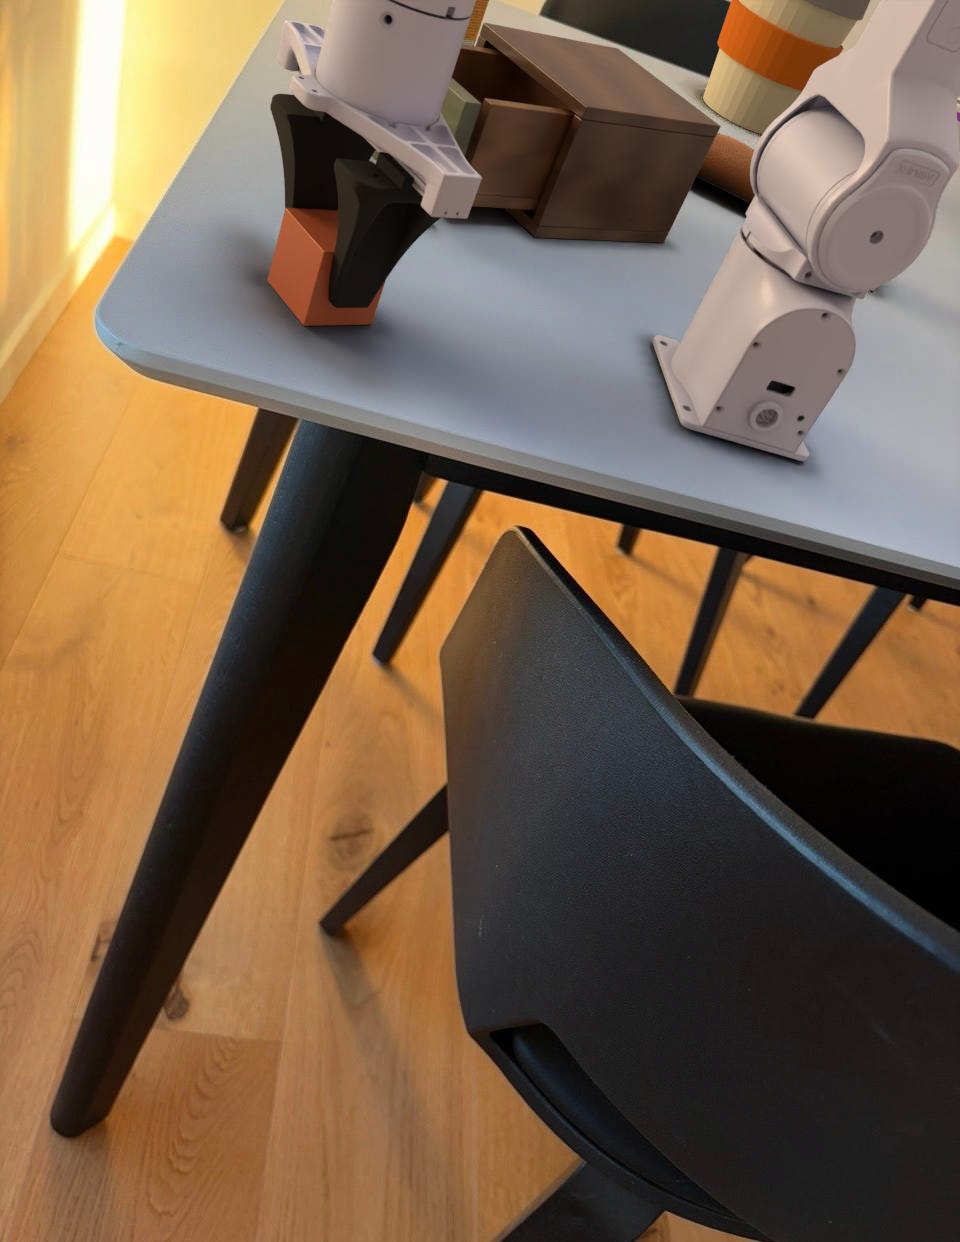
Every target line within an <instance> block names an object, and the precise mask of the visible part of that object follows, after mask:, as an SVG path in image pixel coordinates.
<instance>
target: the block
mask: <svg viewBox="0 0 960 1242" xmlns="http://www.w3.org/2000/svg"><path fill="white" fill-rule="evenodd" d="M337 230H338V210H319V209H301V208H285V207H284V212H283V215H282V219H281V223H280V228H279V232H278V236H277V240H276V243H275V248H274V251H273V252H274V253H273V256H272V261H271V265H270V268H269V272H268V276H267V283H268V285H270V286H271V288H272V289H273V290H274V291H275V292H276V293H277V295H278V296H279V297H280V299H282V301H283V302H284V303H285V305H287V307H288V308H289V310H290V311H291V312H292V313H293V315H294V316H295V317H296V318H297V319H298V320H299V322H300V323H301V324H302V325H303V326H304V327H307V326H308V327H313V326H314V327H316V326H319V327H320V326H356V325H357V326H363V325H364V326H365V325H367V326H368V325H372V324H373V322H374V318H375V315H376V312H377V309H378V306H379V302H380V300H381V297H382V294H383V291H384V287H385V284H386V281H387V279H386V280H385V282H384V283H383V285H382V286H381V288H380V290H379V291H378V293H377V294H376V296H375V297H374V299H373V300H372V302H371V304H370V305H369V307H368V308H336V307H334V306H333V305H332V304H331V303H330V301H329V291H328V290H329V278H330V270H331V265H332V260H333V255H334V251H335V246H336V240H337Z"/></svg>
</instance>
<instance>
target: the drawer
mask: <svg viewBox="0 0 960 1242" xmlns="http://www.w3.org/2000/svg"><path fill="white" fill-rule="evenodd" d="M441 113H442V115H443V117H444V119H445V121H446V123H447V125H448V127H449V129H450V130H451V132H452V134H453V136H454V138H455V140H456V142H457V144H458V146H459V148H460V150H461V151H462V153H463V155H464V157H465V158H466V160H467V161H468V163H469V164H470V165H471V166H472V168H473V169H474V170H475V171H476V172H477V173H478V174H479V175H480V176H481V177H482V179H481V182H480V185H479V188H478V190H477V193H476V196H475V199H474V202H473V204H472V207H478V208H479V207H480V208H481V207H482V208H495V209H497V208H498V209H504V208H511V209H526V210H537V208H538V205H539V203H540V200H541V198H542V195H543V193H544V190H545V188H546V185H547V183H548V180H549V178H550V175H551V173H552V170H553V168H554V165H555V163H556V160H557V158H558V155H559V153H560V150H561V148H562V145H563V143H564V140H565V138H566V135H567V133H568V130H569V128H570V125H571V123H572V120H573V118H574V115H575V113H574V112H573V111H571V110H570V109H569V108H568V107H567V106H565V105H564V104H563V103H562V102H561V101H559V100H558V99H557V98H556V97H555V96H553V95H552V94H551V93H550V92H549V91H547V90H546V89H545V88H544V87H542V86H541V85H540V84H539V83H538V82H536V81H535V80H534V79H533V78H532V77H530V76H529V75H528V74H527V73H526V72H524V71H523V70H522V69H521V68H519V67H518V66H517V65H516V64H515V63H513V62H512V61H511V60H510V59H509V58H507V57H506V56H505V55H504V54H503V53H501V52H500V51H499V50H493V49H488V48H482V47H477V46H476V45H474V46H471V45H465V44H462V46H461V49H460V53H459V56H458V59H457V62H456V65H455V68H454V71H453V74H452V77H451V81H450V84H449V87H448V90H447V93H446V96H445V99H444V102H443V106H442V109H441ZM378 154H379V152H378V151H377V150H375V152H374V153H373V155H372V157H371V158H372V159H374V161H377V158H378Z"/></svg>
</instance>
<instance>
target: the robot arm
mask: <svg viewBox="0 0 960 1242" xmlns="http://www.w3.org/2000/svg"><path fill="white" fill-rule="evenodd" d="M475 2H476V0H332V3H331V6H330V11H329V13H328V17H327V22H326V27H325V28H324V27H322V25H318V24H313V23H307V22H301V21H297V20H296V21H295V20H290V19H285V20H284V23H283V28H282V32H281V37H280V41H279V46H278V50H277V56H276V62H277V63H278V64H280V66H281V67H282V68H283V69H285V70H286V71H290V72H298V73H294V74H293V75H292V76H291V81H290V84H289V91H290V93H291V94H289V93H275V94H274V95H272V98H271V102H270V106H269V107H270V112H271V115H272V119H273V122H274V125H275V129H276V133H277V137H278V142H279V148H280V153H281V154H280V155H281V160H282V170H283V183H284V209H285V208H301V209H319V210H338V230H337V240H336V246H335V251H334V255H333V260H332V265H331V270H330V278H329V290H328V291H329V301H330V303H331V304H332V305H333V306H334V307H336V308H368V307H369V305H370V304H371V302H372V300H373V299H374V297H375V296H376V294H377V293H378V291H379V290H380V288H381V286H382V285H383V283H384V282H385V283H386V281H387V279H388V277H389V276H390V274H391V273H392V271H393V270H394V268H395V267H396V266H397V264H398V263H399V261H400V260H401V259H402V258H403V256H404V255H405V254H406V252H407V251H408V250H409V249H410V248H411V247H412V246H413V244H414V243H416V241H417V240H418V239H419V238H420V237H421V236H422V235H423V234H424V233H425V232H426V231H427V230H428V229H430V228H431V227H432V226H433V225H434V224H435V223H437V222H438V221H439V220H440V219H441V218H444V219H463V220H465V219H468V218H469V215H470V213H471V210H472V207H473V206H472V204H473V202H474V199H475V196H476V193H477V190H478V188H479V185H480V182H481V179H482V177H481V176H480V175H479V174H478V173H477V172H476V171H475V170H474V169H473V168H472V166H471V165H470V164H469V163H468V161H467V160H466V158H465V157H464V155H463V153H462V151H461V150H460V148H459V146H458V144H457V142H456V140H455V138H454V136H453V134H452V132H451V130H450V129H449V127H448V125H447V123H446V121H445V119H444V117H443V115H442V113H441V109H442V106H443V102H444V99H445V96H446V93H447V90H448V87H449V84H450V81H451V77H452V74H453V71H454V68H455V65H456V62H457V59H458V56H459V53H460V49H461V46H462V43H463V40H464V37H465V34H466V31H467V28H468V25H469V22H470V18H471V14H472V11H473V8H474V5H475ZM959 95H960V0H880V1H879V3H878V5H877V6H876V9H874V12H873V14H872V16H871V17H870V19H869V21H868V22H867V25H866V27H865V28H864V30H863V32H862V33H861V36H860V38H859V39H858V41H857V43H856V44H855V45H854V46H853V47H852V48H850V49H848V50H846V51H845V52H843V53H840V55H839V56H837V57H835V58H833V59H831V60H829V61H827V62H826V63H824V64H822V65H821V66H819V67H817V68H816V69H815V70H814V71H813V73H812V75H811V77H810V79H809V81H808V82H807V84H806V86H805V88H804V89H803V91H802V93H801V94H800V95H799V97H798V98H797V99H796V101H795V102H794V103H793V104H792V105H791V106H790V107H789V108H788V109H787V110H786V111H784V112H783V113H782V114H781V115H780V116H779V117H777V118H776V119H775V120H774V121H773V122H772V123H771V124H770V125H769V127H768V128H767V129H766V130H765V132H764V133H763V135H762V134H761V136H760V138H759V139H758V142H757V143H756V145H755V148H754V149H753V150H754V153H753V156H752V160H751V165H750V180H751V186H752V189H753V192H754V194H755V196H754V198H753V200H752V202H751V204H750V203H749V206H748V207H747V209H746V212H745V213H744V214H745V216H746V218H745V220H744V221H743V223H742V226H741V227H740V229H739V231H738V233H737V234H736V237H735V238H734V240H733V242H732V244H731V246H730V248H729V249H728V251H727V254H726V255H725V256H724V259H723V260H722V263H721V264H720V267H719V268H718V270H717V272H716V274H715V276H714V278H713V279H712V282H711V283H710V285H709V287H708V288H707V291H706V293H705V295H704V297H703V299H701V300H702V301H701V302H700V304H699V306H698V308H697V310H696V312H695V313H694V315H693V317H692V319H691V321H690V323H689V324H688V327H687V328H686V331H685V332H684V333H683V336H682V338H681V340H677V339H674V338H671V337H668V336H664V335H661V334H655V335H654V336H653V338H652V340H651V341H652V346H653V348H654V351H655V354H656V358H657V359H658V362H659V365H660V368H661V371H662V374H663V377H664V379H665V382H666V385H667V388H668V391H669V394H670V397H671V400H672V403H673V406H674V408H675V412H676V414H677V418H678V421H679V423H680V425H681V426H682V427H684V428H685V429H688V430H690V431H694V432H697V433H700V434H703V435H704V434H705V435H708V436H712V437H714V438H718V439H723V440H725V441H729V442H733V443H736V444H739V445H742V446H743V445H744V446H746V447H750V448H754V449H756V450H761V451H764V452H767V453H772V454H775V455H777V456H781V457H785V458H789V459H793V460H796V461H799V462H806V461H807V460H808V458H810V452H809V449H808V447H807V446H806V444H805V442H804V440H805V438H806V437H807V436H808V434H809V432H810V431H811V429H812V428H813V427H814V425H815V424H816V422H817V420H818V419H819V417H820V416H821V414H822V413H823V411H824V410H825V408H826V407H827V405H828V404H829V402H830V401H831V399H832V398H833V396H834V395H835V393H836V391H837V390H838V389H839V387H840V385H841V384H842V382H843V381H844V379H845V378H846V376H847V375H848V373H849V372H850V370H851V368H852V365H853V362H854V361H855V355H856V349H857V342H856V341H857V340H856V334H855V330H854V326H853V312H854V307H855V303H856V302H857V299H858V300H864V299H865V298H866V296H867V294H868V293H869V291H871V290H870V289H874V288H876V289H877V288H879V287H881V286H883V285H886V284H887V283H889V282H891V281H892V280H894V279H896V278H897V277H898V276H900V275H902V273H904V272H906V270H907V269H908V268H909V267H910V266H911V265H913V263H914V262H915V261H916V259H918V257H919V256H920V255H921V254H922V252H923V250H924V249H925V247H927V245H928V242H929V241H930V238H931V236H932V234H933V231H934V228H935V222H936V218H937V213H938V207H939V203H940V202H941V198H942V195H943V193H944V192H945V190H946V188H947V186H948V184H949V183H950V182H951V180H952V178H953V176H954V175H955V173H956V172H957V171H958V169H959V166H960V152H959V138H958V123H957V99H958V97H959ZM375 150H377V151H378V152H379V154H378V158H377V161H376V160H375V161H376V162H375V163H374V162H373V161H372V160H371V158H373V157H372V155H373V153H374V152H375ZM370 160H371V161H370ZM385 280H386V281H385Z"/></svg>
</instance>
